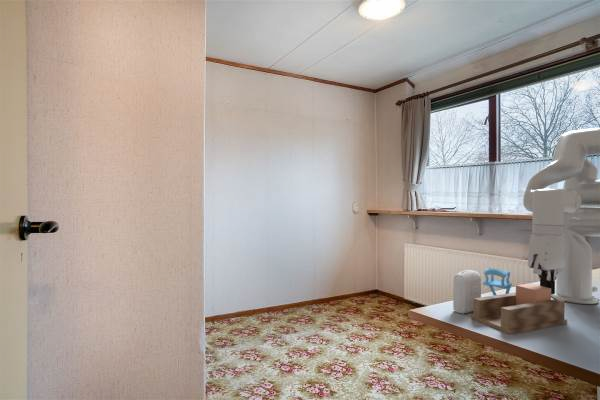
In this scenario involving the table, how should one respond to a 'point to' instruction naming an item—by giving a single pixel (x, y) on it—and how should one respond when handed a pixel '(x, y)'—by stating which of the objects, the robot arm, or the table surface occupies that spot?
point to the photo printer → (466, 290)
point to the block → (531, 293)
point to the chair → (495, 283)
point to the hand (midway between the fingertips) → (547, 292)
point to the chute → (517, 313)
